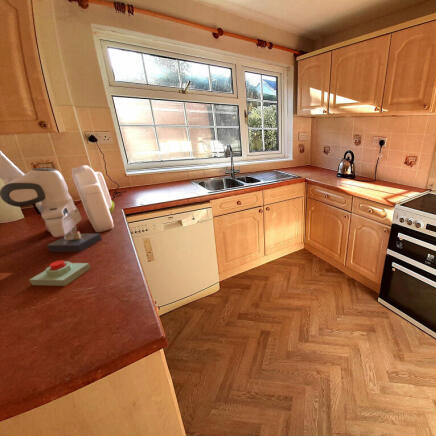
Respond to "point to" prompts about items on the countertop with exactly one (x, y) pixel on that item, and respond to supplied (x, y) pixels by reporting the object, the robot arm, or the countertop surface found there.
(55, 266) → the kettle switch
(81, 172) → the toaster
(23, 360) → the countertop surface
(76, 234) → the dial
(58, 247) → the dial panel
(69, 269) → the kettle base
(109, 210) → the fruit
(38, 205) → the plastic bottle
